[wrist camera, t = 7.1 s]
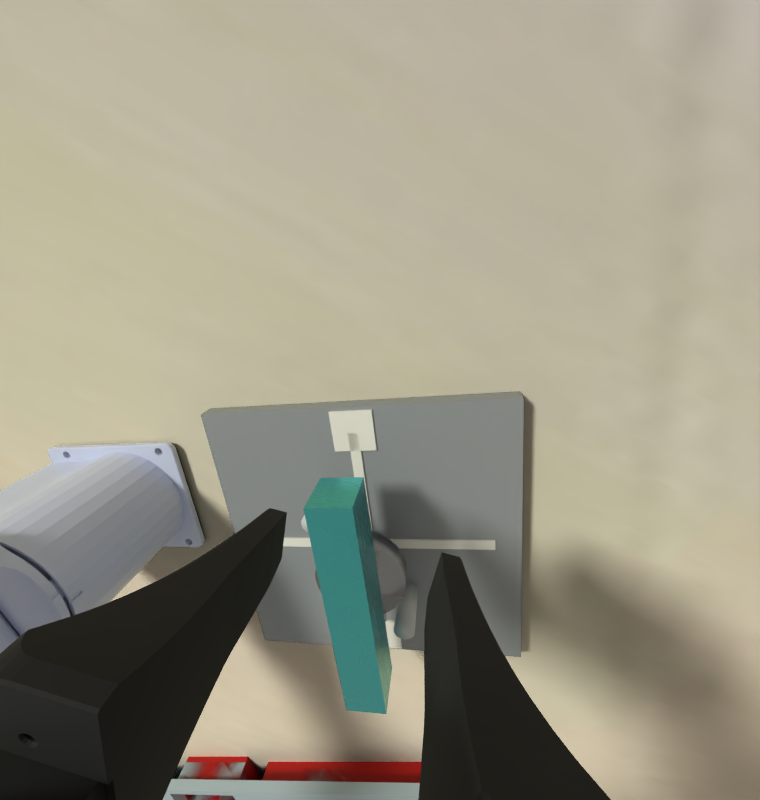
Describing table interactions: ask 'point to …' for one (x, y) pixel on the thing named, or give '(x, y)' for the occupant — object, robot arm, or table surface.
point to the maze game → (294, 780)
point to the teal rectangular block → (355, 588)
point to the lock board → (385, 498)
